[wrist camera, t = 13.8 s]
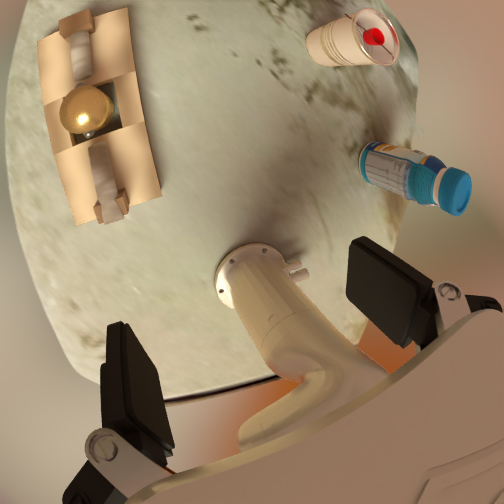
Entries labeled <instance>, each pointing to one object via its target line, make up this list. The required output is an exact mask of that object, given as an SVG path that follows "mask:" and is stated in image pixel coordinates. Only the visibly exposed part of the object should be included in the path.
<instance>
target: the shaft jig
mask: <svg viewBox="0 0 504 504" xmlns="http://www.w3.org/2000/svg"><path fill="white" fill-rule="evenodd" d="M37 47H38V65H39V76H40V85H41V93H42V100H43V106H44V112H45V117H46V123H47V127H48V132H49V137H50V141H51V145H52V149H53V153H54V157H55V161H56V165H57V168H58V172H59V175H60V178H61V182H62V185H63V188H64V191H65V194H66V197H67V200H68V203H69V206H70V208H71V211H72V214H73V217H74V219H75V222H76V224H77V226H79V225H81V224H84V223H86V222H89V221H91V220H94V219H97V220H98V223H99V224H101V223H103V222H104V225H106V224H110V223H113V222H116V221H118V220H121V219H123V218H124V215H126V214H128V211H129V207H130V206H133V205H136V204H139V203H142V202H145V201H148V200H151V199H154V198H157V197H161V196H162V193H161V189H160V185H159V181H158V177H157V173H156V169H155V165H154V161H153V157H152V153H151V148H150V144H149V140H148V135H147V130H146V126H145V121H144V116H143V111H142V106H141V101H140V95H139V90H138V84H137V78H136V72H135V65H134V59H133V51H132V44H131V36H130V27H129V17H128V7H126V8H122V9H119V10H115V11H112V12H108V13H105V14H102V15H99V16H96V17H93V16H92V14H91V11H90V9H86V10H84V11H81V12H78V13H76V14H73V15H71V16H68V17H66V18H64V19H61V20H59V31H58V32H55V33H53V34H51V35H49V36H47V37H45V38H43V39H41V40H39V41H37ZM79 82H83V83H85V85H90V86H94V87H99V86H102V85H105V84H108V83H111V82H114V86H115V91H116V97H117V102H118V108H119V113H120V118H121V122H122V127H123V128H121V129H118V130H115V131H112V132H109V133H107V134H104V135H101V136H98V137H96V138H93V139H91V140H88V141H85V142H83V143H81V144H78V145H77V142H76V137H75V133H71V132H69V131H67V130H66V129H65V128H64V127H63V125H62V124H61V121H60V116H59V112H60V106H61V104H62V101H63V100H64V98H65V97H66V95H67V94H68V93H69V92H70V91H72V90H73V89H75V86H76V85H77V84H78V83H79Z"/></svg>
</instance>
